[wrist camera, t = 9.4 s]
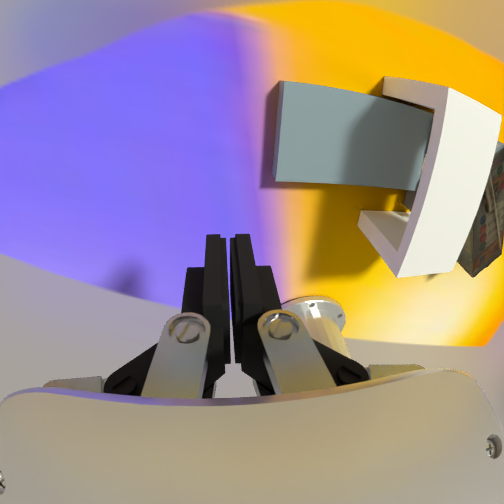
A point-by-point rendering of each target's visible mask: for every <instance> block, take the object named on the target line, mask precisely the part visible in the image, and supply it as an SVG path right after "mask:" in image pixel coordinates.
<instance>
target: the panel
mask: <svg viewBox="0 0 504 504" xmlns="http://www.w3.org/2000/svg"><path fill="white" fill-rule="evenodd" d="M433 115H434V114H433V113H430V112H427V111H424V110H421V109H418V108H415V107H412V106H408V105H405V104H402V103H398V102H395V101H391V100H387V99H383V98H380V97H376V96H371V95H367V94H363V93H358V92H353V91H349V90H343V89H338V88H332V87H327V86H320V85H313V84H306V83H298V82H289V81H279V95H278V107H277V120H276V132H275V145H274V156H273V168H272V175H273V177H274V179H275V181H282V182H311V183H331V184H346V185H360V186H372V187H383V188H393V189H403V190H412V191H416V189H417V185H418V182H419V178H420V174H421V171H422V167H423V163H424V159H425V154H426V150H427V146H428V141H429V136H430V131H431V126H432V121H433Z"/></svg>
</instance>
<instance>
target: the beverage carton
mask: <svg viewBox="0 0 504 504" xmlns="http://www.w3.org/2000/svg"><path fill="white" fill-rule="evenodd" d="M503 239H504V144H503V143H501V142H499V141H497V145H496V150H495V154H494V158H493V162H492V166H491V170H490V173H489V177H488V180H487V183H486V187H485V190H484V193H483V196H482V199H481V202H480V205H479V208H478V211H477V213H476V216H475V219H474V221H473V224H472V226H471V229H470V231H469V234H468V236H467V239H466V241H465V243H464V246H463V248H462V250H461V252H460V255H459V257H458V259H457V262H458V263H459V264H460V265H461V266H462V267H463V268H464V270H465V271H466V272H467V273H468V274H469V275H470V276H471V277H475V276H476V275H477V274H478V273H479V272H480V271H482V270H483V269H484V268H486V267H488V266H489V265H490V264H491V263H492V262H493V261H494V260H495V259H496V258H498V257H499V256H500V255H501V254H502V247H503Z"/></svg>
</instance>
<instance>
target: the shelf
mask: <svg viewBox="0 0 504 504" xmlns="http://www.w3.org/2000/svg"><path fill="white" fill-rule="evenodd" d="M382 95H386V96H390V97H394V98H397V99H401V100H404V101H408V102H411V103H414V104H417V105H421V106H424V107H427V108H430V109H432V110H435V112H434V118H433V121H432V126H431V131H430V136H429V141H428V146H427V150H426V158H425V163H424V167H423V171H422V175H420V178H419V182H418V185H417V189H416V191H412V190H407V192H406V195H405V199H404V202H403V205H404V206H405V207H407V208H408V209H409V210H410V211H411V212H396V211H370V210H361V213H360V217H359V221H358V225H357V226H358V227H359V229H360V230H361V231H362V232H363V234H364V235H365V236H366V238H367V239H368V240H369V241H370V243H371V244H372V245H373V247H374V248H375V249H376V251H377V252H378V253H379V254H380V256H381V257H382V259H383V260H384V261H385V263H386V264H387V265H388V267H389V268H390V269H391V271H392V272H393V274H394V275H395V276H396V278H400V277H409V276H418V275H427V274H436V273H444V272H452V269H453V267H454V265H455V263H456V261H457V259H458V257H459V255H460V252H461V250H462V248H463V246H464V243H465V241H466V239H467V236H468V234H469V231H470V229H471V226H472V224H473V221H474V219H475V216H476V213H477V211H478V208H479V205H480V202H481V199H482V196H483V193H484V190H485V187H486V183H487V180H488V177H489V173H490V170H491V166H492V162H493V158H494V154H495V150H496V145H497V141H498V136H499V131H500V125H501V119H502V116H501V115H500V114H498V113H496V112H495V111H493V110H491V109H490V108H488V107H486V106H484V105H483V104H481V103H479V102H477V101H475V100H473V99H471V98H470V97H468V96H466V95H464V94H462V93H460V92H458V91H455V90H453V89H451V88H449V87H445V86H441V85H436V84H431V83H426V82H421V81H415V80H409V79H403V78H396V77H388V76H384V84H383V93H382Z"/></svg>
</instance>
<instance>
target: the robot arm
mask: <svg viewBox="0 0 504 504" xmlns="http://www.w3.org/2000/svg"><path fill="white" fill-rule="evenodd" d="M230 297H231V312H232V326H233V339H234V352H235V363H241V367H242V371H244V373H246V374H247V375H249V376H250V377H251V378H253V384H254V388H255V391H256V394H257V397H242V398H215V399H214V397H215V391H216V380H218V379H219V378H220V377H221V376H222V375H223V374H225V364H230V363H231V358H230V357H231V355H230V308H229V289H228V271H227V252H226V238H220V234H212V235H207V236H206V250H205V266H204V267H188V268H187V272H186V279H185V287H184V294H183V303H182V311H181V314H177V315H175V316H173V317H171V318H170V319H169V320H168V321H167V322H166V324H165V326H164V328H163V331H162V334H161V336H160V339H159V342H158V343H157V344H155V345H154V346H152V347H151V348H149V349H148V350H146V351H145V352H143V353H142V354H141V355H139V356H137V357H136V358H134V359H133V360H131V361H130V362H129V363H127V364H126V365H124V366H123V367H121V368H120V369H118V370H117V371H115V372H114V373H112V374H111V375H110V376H109V377H108V378H107V379H102V378H101V376H97V377H87V378H75V379H60V380H52V381H49V382H48V383H46V384H45V385H44V386H43V387H36V388H29V389H24V390H20V391H17V392H14V393H12V394H10V395H8V396H7V397H5V398H4V399H3V401H2V402H1V403H0V504H504V428H503V426H502V424H501V422H500V420H499V418H498V416H497V414H496V412H495V410H494V408H493V406H492V404H491V402H490V400H489V399H488V397H487V396H486V394H485V392H484V391H483V389H482V388H481V386H480V385H479V384H478V383H477V381H476V380H475V379H474V378H473V377H471V375H469V374H467V373H465V372H462V371H459V370H454V369H445V368H433V369H425V368H424V367H422V366H420V365H415V364H410V365H369V366H368V367H363V366H362V365H360V364H359V363H357V362H356V361H354V360H352V359H351V356H350V354H349V351H348V349H347V346H346V344H345V341H344V339H343V336H342V334H341V331H342V329H343V327H344V325H345V318H346V316H345V313H344V311H343V309H342V307H341V305H340V304H339V303H338V302H337V301H335V300H333V299H331V298H327V297H322V296H308V297H302V298H298V299H295V300H292V301H289V302H287V303H285V304H283V305H281V303H280V299H279V295H278V292H277V288H276V284H275V280H274V277H273V273H272V269H271V266H256V265H255V260H254V255H253V250H252V244H251V239H250V234H235V238H230Z"/></svg>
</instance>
